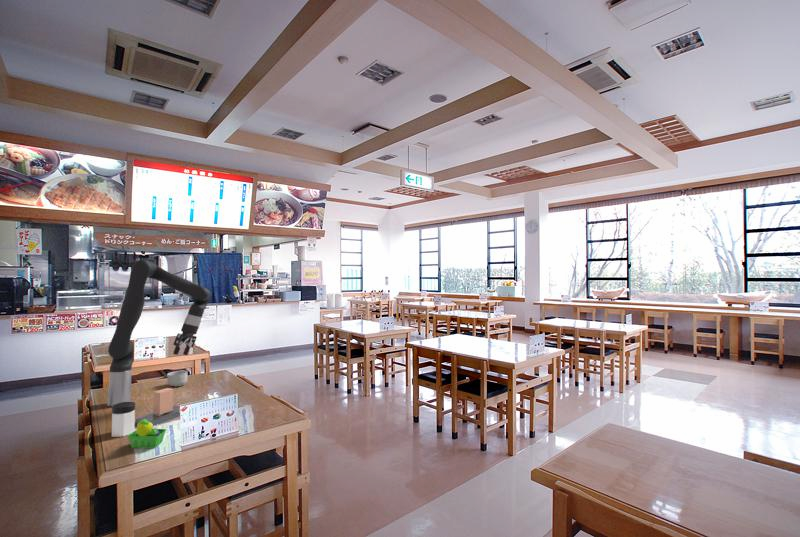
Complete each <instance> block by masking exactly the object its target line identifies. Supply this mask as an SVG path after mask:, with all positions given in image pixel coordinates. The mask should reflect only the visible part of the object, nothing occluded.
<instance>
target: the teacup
mask: <svg viewBox="0 0 800 537" xmlns="http://www.w3.org/2000/svg"><path fill="white" fill-rule="evenodd" d="M166 375H167V376H166V377H167V380H166V381H167V384H168V385H169V386H170V387H172V386H179V387H182V385H183V386H185V385H186V384H187V382H188V378H189V377H188V371H187V370H184V369H181V370H176V371H175V370H174V371H171V372H168V373H167V374H166Z"/></svg>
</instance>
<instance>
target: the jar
mask: <svg viewBox="0 0 800 537" xmlns="http://www.w3.org/2000/svg"><path fill="white" fill-rule="evenodd" d="M135 416H136V402H134V401H131V402H122V403H117V404H115V405H113V406H111V437H115V438H117V437H118V438H119V437H121V438H122V436H123V437H126V436H128V435H129V434H131V433H133V432H134V431H135V425H136V417H135Z"/></svg>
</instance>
